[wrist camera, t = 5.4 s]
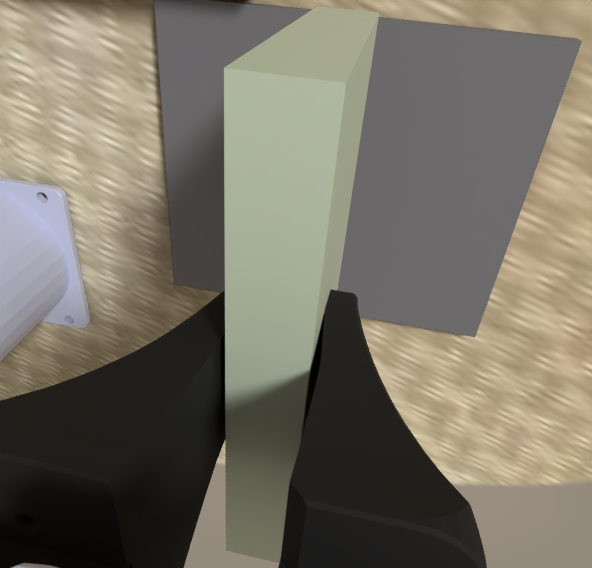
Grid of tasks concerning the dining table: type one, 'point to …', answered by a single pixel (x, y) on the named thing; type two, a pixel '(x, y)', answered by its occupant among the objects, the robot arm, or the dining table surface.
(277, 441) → the pale green rectangular block
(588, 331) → the dining table surface
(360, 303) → the mat
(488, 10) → the dining table surface
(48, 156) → the dining table surface
